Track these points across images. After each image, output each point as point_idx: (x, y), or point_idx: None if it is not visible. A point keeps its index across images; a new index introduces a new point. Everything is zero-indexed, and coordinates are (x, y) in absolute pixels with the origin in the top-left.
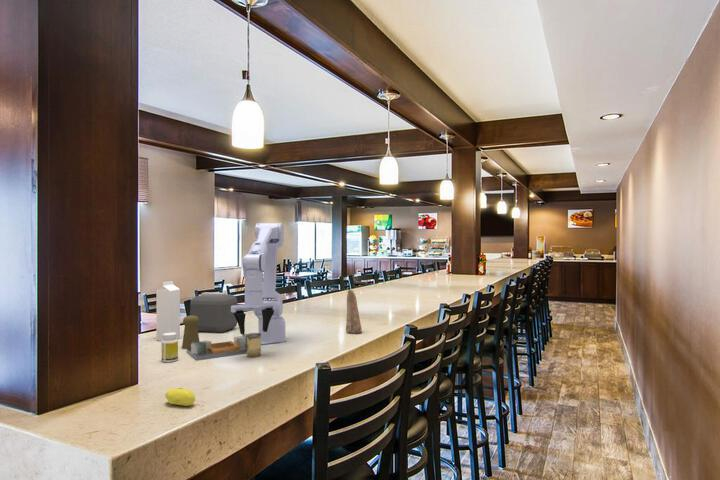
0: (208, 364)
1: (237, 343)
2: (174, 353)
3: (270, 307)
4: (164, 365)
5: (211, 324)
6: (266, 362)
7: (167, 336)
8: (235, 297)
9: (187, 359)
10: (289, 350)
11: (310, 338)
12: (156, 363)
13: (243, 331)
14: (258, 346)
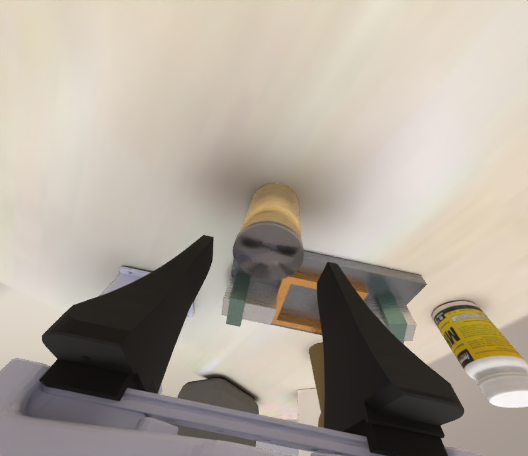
0: (447, 219)
1: (275, 295)
2: (476, 320)
3: (60, 395)
4: (509, 290)
5: (234, 402)
6: (301, 74)
7: None
8: None
9: (422, 295)
10: (141, 179)
11: (45, 249)
12: (494, 313)
13: (339, 272)
14: (267, 200)
